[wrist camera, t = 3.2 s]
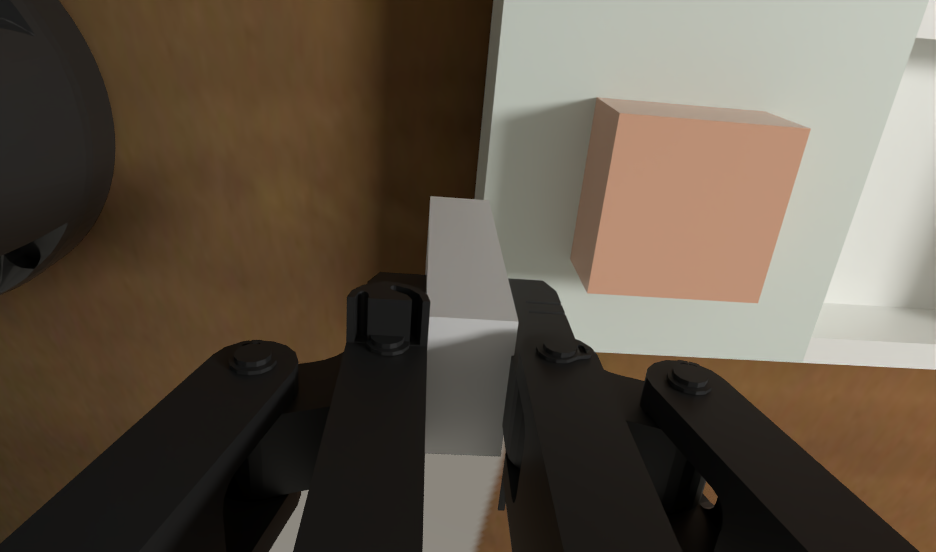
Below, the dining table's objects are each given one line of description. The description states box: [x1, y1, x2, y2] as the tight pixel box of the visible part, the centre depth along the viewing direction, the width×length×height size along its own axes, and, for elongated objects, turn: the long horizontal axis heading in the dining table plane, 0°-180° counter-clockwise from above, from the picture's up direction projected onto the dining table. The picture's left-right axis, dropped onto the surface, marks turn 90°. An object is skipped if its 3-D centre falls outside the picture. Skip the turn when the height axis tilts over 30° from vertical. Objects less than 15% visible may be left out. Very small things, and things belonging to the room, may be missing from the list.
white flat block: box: [474, 0, 929, 363], centre depth 25 cm, size 14×14×4 cm
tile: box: [570, 97, 811, 303], centre depth 22 cm, size 6×6×3 cm
